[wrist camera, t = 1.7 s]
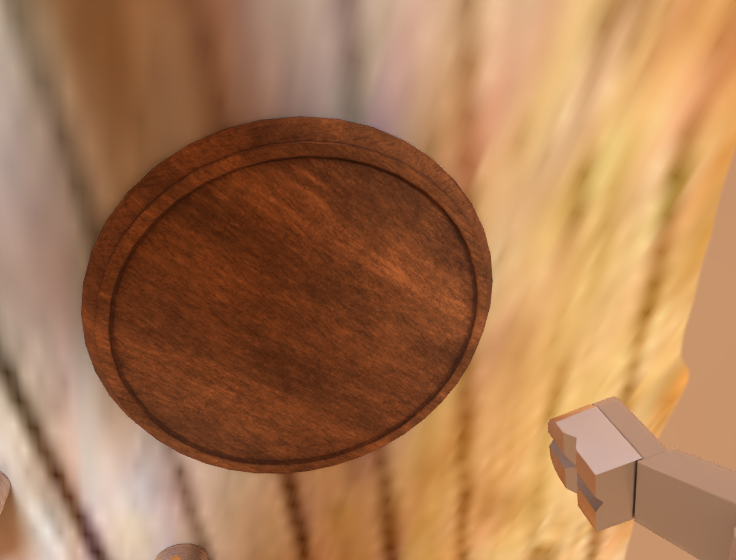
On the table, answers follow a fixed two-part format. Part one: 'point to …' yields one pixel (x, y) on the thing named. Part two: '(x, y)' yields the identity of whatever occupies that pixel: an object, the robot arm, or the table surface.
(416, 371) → the cutting board
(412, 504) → the table surface
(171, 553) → the bench dogs
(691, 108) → the table surface
